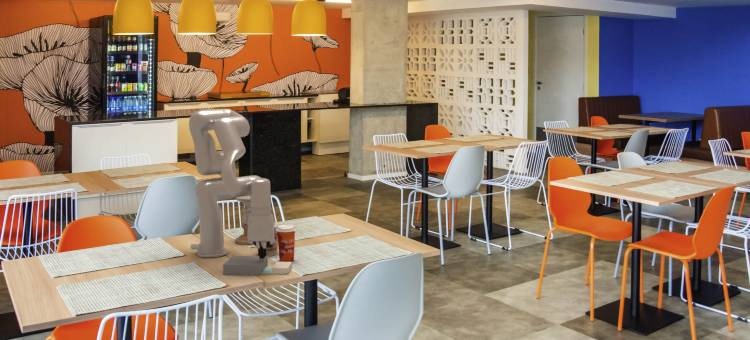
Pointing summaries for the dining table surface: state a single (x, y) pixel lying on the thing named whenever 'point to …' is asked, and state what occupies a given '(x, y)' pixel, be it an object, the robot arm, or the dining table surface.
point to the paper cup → (286, 242)
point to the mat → (269, 270)
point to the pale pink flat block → (282, 267)
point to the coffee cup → (272, 245)
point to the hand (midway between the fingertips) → (262, 257)
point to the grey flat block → (244, 265)
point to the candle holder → (244, 220)
